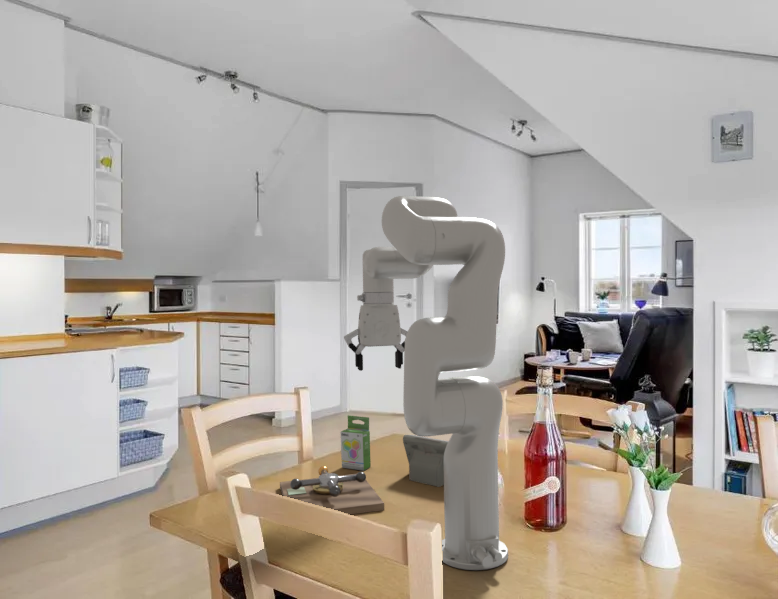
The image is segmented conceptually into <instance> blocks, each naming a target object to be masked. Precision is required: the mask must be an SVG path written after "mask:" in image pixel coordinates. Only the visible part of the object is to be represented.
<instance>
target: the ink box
mask: <svg viewBox="0 0 778 599" xmlns="http://www.w3.org/2000/svg"><path fill="white" fill-rule="evenodd" d="M353 421H362V422H363V423H355V422H353ZM370 432H371V431H370V417H368V416H367V417H366V416H357V415H349V414H348V415H347V428H346V429H343V430H340V454H341V468H342V469H347V470H348V469H349V470H357V471H360V472H364V471H367V470H368V469H370V468H371V462H372V461H371V438H370V437H371V435H370V434H371V433H370Z"/></svg>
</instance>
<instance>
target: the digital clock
mask: <svg viewBox="0 0 778 599" xmlns="http://www.w3.org/2000/svg"><path fill="white" fill-rule="evenodd" d="M448 442H449V440H446V439H445V440H444V439H438V438H433V437H429V436H425V437H424V436H417V435H415V434H404V435H403V436H402V443H403V447H404V451H405V455H406V457H407V463H408V472H409V473H408V476H409V481H411V482H416V483H420V484H424V485H428V486H433V487H437V488H440V487H442V486H444V452H445V449H446V446H447V444H448Z"/></svg>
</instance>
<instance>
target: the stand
mask: <svg viewBox="0 0 778 599" xmlns="http://www.w3.org/2000/svg"><path fill="white" fill-rule="evenodd" d="M355 474H356V473H353V474H351V473H350V474H349V475H355ZM346 475H347V474H344V475H343V474H340V476H346ZM318 478H319V477H316V478H312V479H318ZM309 479H310V478H306V479H305V478H304V479H302V480H309ZM291 481H292V480H286V481H280V482H279V490H280V492H281V496H282V495H283V496H287V497H290V498H294V499H298V500H301V501H304V502H308V503H312V504H315V505H319V506H323V507H326V508H331V509H334V510H338V511H341V512H344V513H348V515H355V514H363V513H364V514H365V513H372V512H378V511H379V512H380V511H385V502H384V501H383V500H382V498H381V497H380V496H379V495H378V493H377V492H376V491H375V489H374V488H373V486H372V485H371V484H370V483H369V482H368V481H367V478H366V479H365V481H364V482H358V481H350V482H343V490H341V491H340V494H339V495H338V496H337V497H333V496H331V495H330V494H321V493H316V492H314V491H313V486H304V487H300V488H299V489H297V490H294V489H292V488H291V486H290V483H291ZM283 496H282V497H283Z"/></svg>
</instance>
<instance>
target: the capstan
mask: <svg viewBox="0 0 778 599" xmlns="http://www.w3.org/2000/svg"><path fill="white" fill-rule="evenodd" d="M317 472H318V477H317V478H318V479H313V478H308V479H309V480H303V479H299V478H293V479H292V480H290V481H291V483H290V486H291V488H292V489H294V490H297V489H299V488H300V487H304V486H313V491H314V492H316V493H321V494H330V495H331V496H333V497H337V496H338V495H339V494H340V491H341V490H343V482H350V481H358V482H364V481H365V479H366V480H367V475H366V473H365V472H364V471H359V472H357V473H354V474H355V475H350V474H345V475H346V476H341V475H339V474H337V473H334V472H331V473H330V472H329V468H328V466H325V465H322V466H319V468H318V470H317Z"/></svg>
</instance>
